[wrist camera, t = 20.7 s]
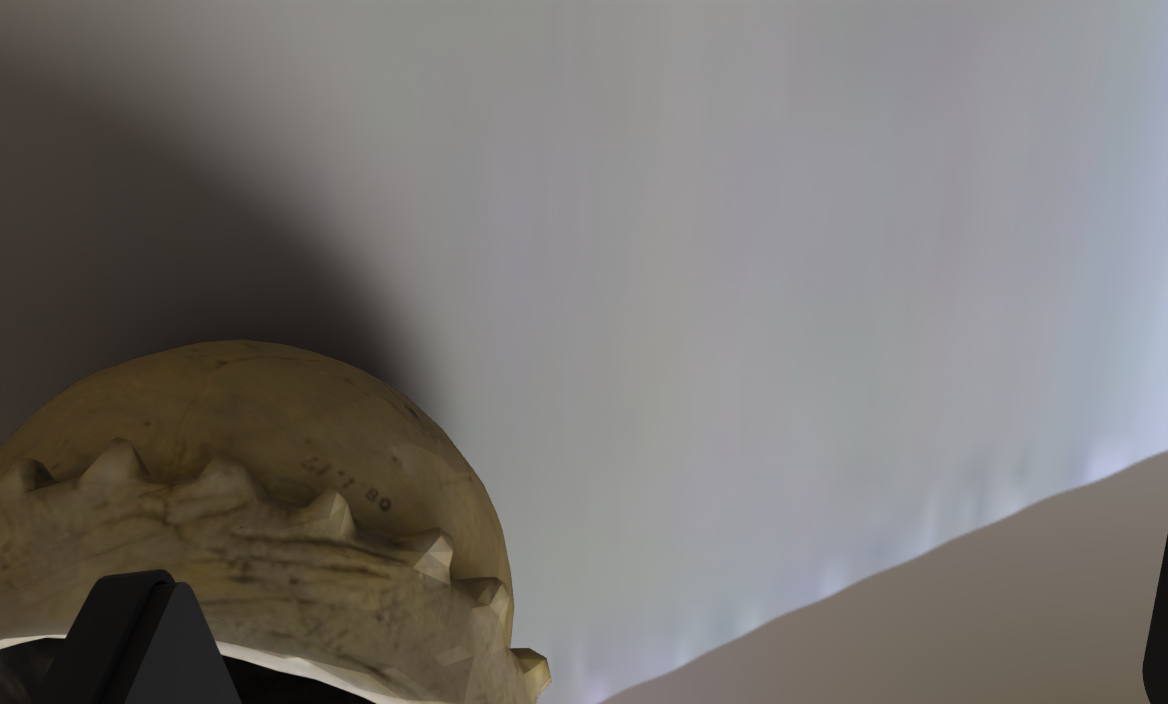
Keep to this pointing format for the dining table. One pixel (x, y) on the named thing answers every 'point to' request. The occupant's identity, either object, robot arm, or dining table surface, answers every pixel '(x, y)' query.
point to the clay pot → (264, 528)
